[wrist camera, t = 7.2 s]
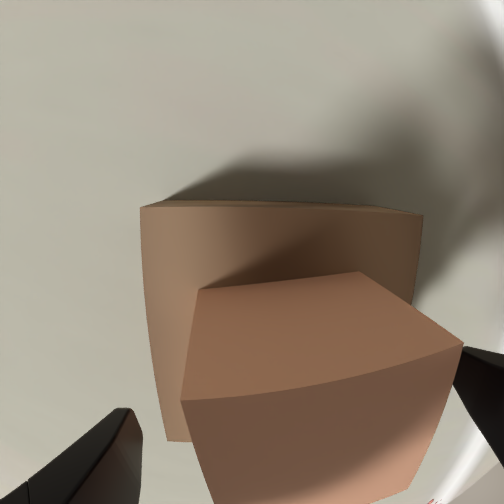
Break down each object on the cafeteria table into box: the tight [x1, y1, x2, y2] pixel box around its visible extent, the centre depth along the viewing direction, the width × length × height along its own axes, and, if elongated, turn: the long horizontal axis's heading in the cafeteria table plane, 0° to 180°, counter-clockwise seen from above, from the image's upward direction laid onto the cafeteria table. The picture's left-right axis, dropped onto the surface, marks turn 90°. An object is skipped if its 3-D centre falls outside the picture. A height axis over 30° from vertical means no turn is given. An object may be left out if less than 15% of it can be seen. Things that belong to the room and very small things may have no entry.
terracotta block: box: [180, 271, 464, 504], centre depth 7 cm, size 5×5×5 cm
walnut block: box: [140, 200, 423, 442], centre depth 12 cm, size 9×9×4 cm
